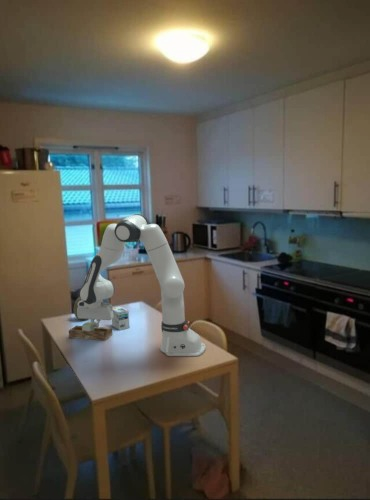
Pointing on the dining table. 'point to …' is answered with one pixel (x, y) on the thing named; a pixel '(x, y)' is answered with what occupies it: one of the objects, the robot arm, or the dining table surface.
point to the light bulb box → (120, 318)
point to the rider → (88, 326)
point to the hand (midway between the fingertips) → (96, 326)
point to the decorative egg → (76, 307)
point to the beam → (90, 333)
